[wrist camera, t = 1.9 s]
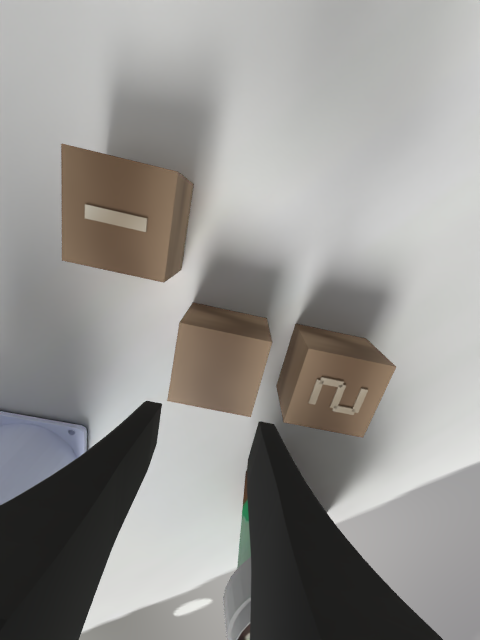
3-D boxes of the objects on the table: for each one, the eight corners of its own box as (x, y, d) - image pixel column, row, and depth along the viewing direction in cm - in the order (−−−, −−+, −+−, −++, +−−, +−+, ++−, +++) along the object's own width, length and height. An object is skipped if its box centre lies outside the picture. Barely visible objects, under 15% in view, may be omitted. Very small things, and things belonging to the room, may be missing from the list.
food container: (201, 459, 22) (170, 632, 13) (266, 428, 21) (284, 594, 12) (274, 544, 26) (292, 731, 16) (333, 522, 24) (389, 709, 15)
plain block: (182, 366, 20) (167, 401, 16) (193, 301, 18) (179, 322, 14) (249, 380, 20) (250, 417, 16) (266, 317, 18) (272, 342, 14)
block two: (276, 384, 20) (283, 423, 16) (295, 322, 18) (308, 349, 14) (340, 397, 20) (363, 438, 16) (365, 337, 19) (397, 367, 15)
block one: (102, 252, 17) (60, 260, 13) (106, 163, 15) (59, 142, 11) (181, 269, 17) (163, 282, 13) (193, 184, 15) (177, 171, 12)
